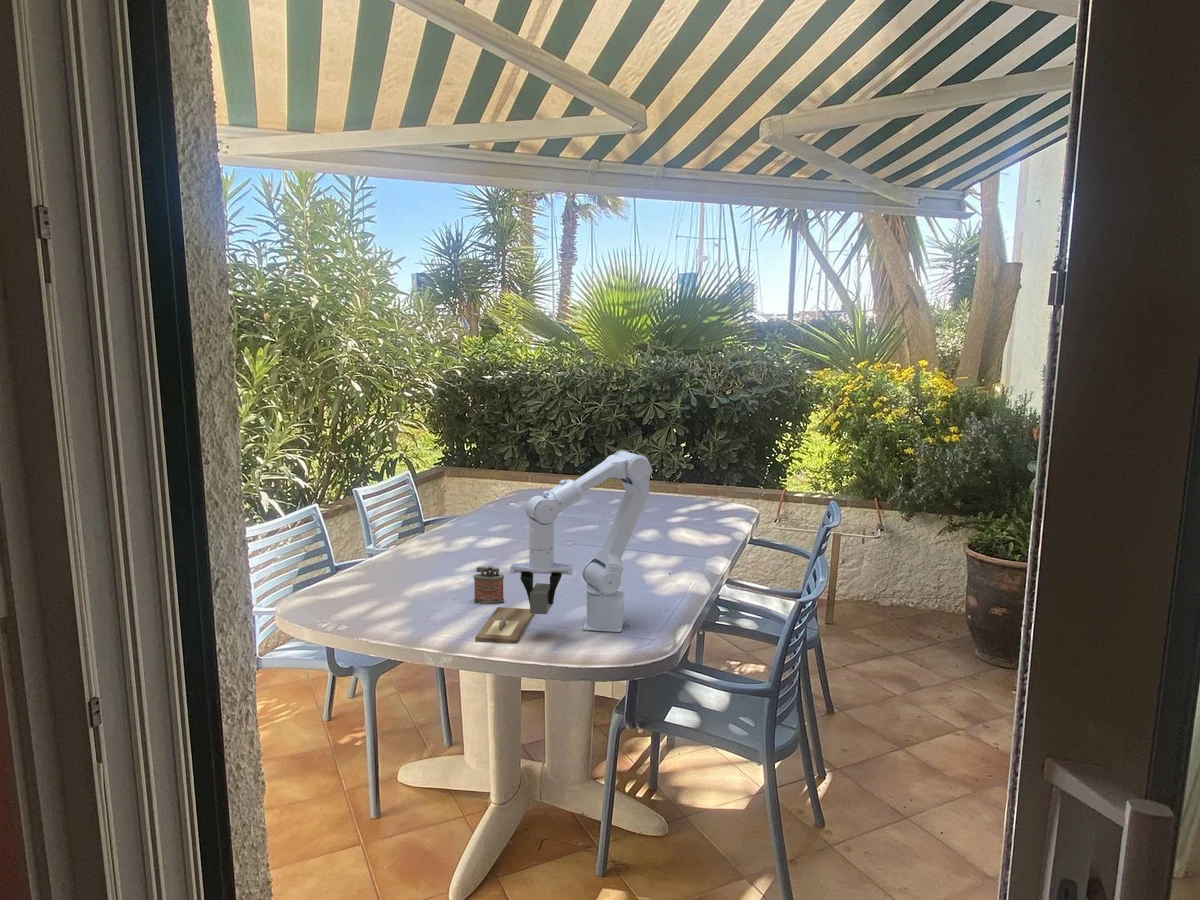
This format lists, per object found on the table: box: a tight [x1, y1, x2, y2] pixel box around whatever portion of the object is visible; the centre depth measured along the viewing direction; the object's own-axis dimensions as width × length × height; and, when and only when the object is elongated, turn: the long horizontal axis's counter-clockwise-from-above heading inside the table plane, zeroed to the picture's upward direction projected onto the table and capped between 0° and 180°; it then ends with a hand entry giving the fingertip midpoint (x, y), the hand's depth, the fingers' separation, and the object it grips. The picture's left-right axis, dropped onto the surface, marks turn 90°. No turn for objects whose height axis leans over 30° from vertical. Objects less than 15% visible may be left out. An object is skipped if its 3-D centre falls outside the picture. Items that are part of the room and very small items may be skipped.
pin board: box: [474, 606, 535, 644], centre depth 180 cm, size 10×20×3 cm, turn 173°
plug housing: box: [529, 582, 553, 615], centre depth 172 cm, size 4×7×5 cm, turn 173°
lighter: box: [473, 565, 505, 605], centre depth 196 cm, size 8×3×10 cm, turn 92°
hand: (541, 602), depth 172 cm, fingers closed on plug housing, 4 cm apart
